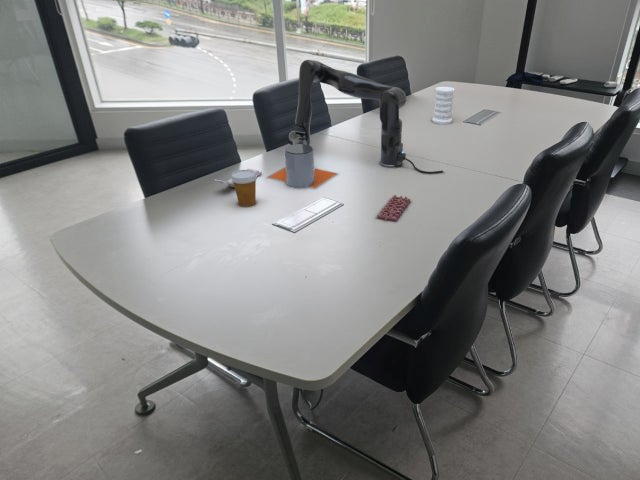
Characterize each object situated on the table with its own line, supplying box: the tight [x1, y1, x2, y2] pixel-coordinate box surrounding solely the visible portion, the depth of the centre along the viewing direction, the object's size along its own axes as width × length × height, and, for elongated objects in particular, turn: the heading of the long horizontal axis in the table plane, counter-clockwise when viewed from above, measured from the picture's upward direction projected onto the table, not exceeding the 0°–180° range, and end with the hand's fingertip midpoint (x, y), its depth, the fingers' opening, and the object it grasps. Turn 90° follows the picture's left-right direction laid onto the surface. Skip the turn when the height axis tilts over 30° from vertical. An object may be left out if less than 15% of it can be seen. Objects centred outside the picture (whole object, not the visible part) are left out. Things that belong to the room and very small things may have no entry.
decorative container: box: [431, 86, 455, 125], centre depth 289 cm, size 12×12×18 cm
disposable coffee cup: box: [230, 169, 258, 207], centre depth 194 cm, size 10×10×12 cm
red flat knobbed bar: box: [376, 194, 411, 222], centre depth 193 cm, size 7×19×2 cm, turn 160°
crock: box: [283, 144, 316, 189], centre depth 211 cm, size 12×12×15 cm
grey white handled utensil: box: [214, 168, 263, 188], centre depth 212 cm, size 6×6×25 cm
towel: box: [268, 167, 338, 188], centre depth 221 cm, size 24×18×1 cm
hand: (300, 164), depth 217 cm, fingers closed
